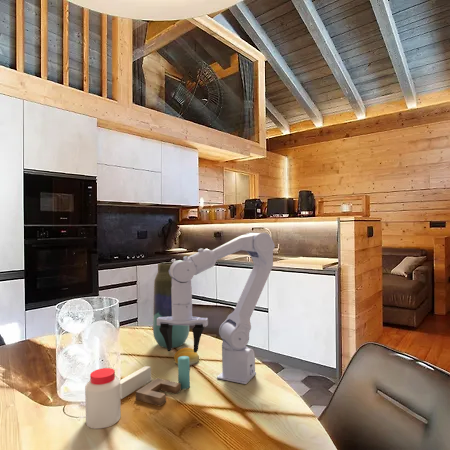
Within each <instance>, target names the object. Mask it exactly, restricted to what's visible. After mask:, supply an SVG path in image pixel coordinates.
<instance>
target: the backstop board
mask: <svg viewBox="0 0 450 450" xmlns="http://www.w3.org/2000/svg"><path fill="white" fill-rule="evenodd" d="M119 380H120V400H123V399H124V398H126V397H127V396H129V395H131V394H132V393H134V392H136V391H138V390H139V389H141V388H142V387H144V386H145V385H147V384H149V383H150V382H152V367H151V366H149V365H144V366H143V367H140V369H138V370H137V369H136V370H135V371H134V372H132V373H130V374H129V375H126V376H125V377H123V378H122V379H119Z"/></svg>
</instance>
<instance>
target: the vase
mask: <svg viewBox="0 0 450 450" xmlns="http://www.w3.org/2000/svg"><path fill="white" fill-rule="evenodd" d="M173 262H174V261H169V262H160V263H158V264H157V273H156V275H155V278H154V280H153V281H154V282H153V305H152V333H153V338H154V341H155V342H156V343H157V345H158V346H160V347H162V348H165V349H167V346H166V343H165V340H164V338H163V336H162V334H161V332H160V331H159V328H160V326H161V325H157V318H158V317H170V316H172V294H171V287H172V277H171V276H170V274H169V270H170V266H171V265H172V263H173ZM189 335H190V326H189V325H173V327H172V349H175V348H178V347H181V346H183V345H184V344H185V342H186V341H187V339H188V338H189Z"/></svg>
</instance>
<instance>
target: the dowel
mask: <svg viewBox="0 0 450 450" xmlns="http://www.w3.org/2000/svg"><path fill="white" fill-rule="evenodd" d="M190 369H191V368H190V365H189V357H188V356H181V357H179V358H178V365H177V371H178V372H177V375H178V376H177V378H178V380H177V381H178V382H177V383H180V386H181V390H187V389H189V388H190V387H191V386H190V385H191V382H190V381H191V380H190V379H191V378H190V376H191V375H190V372H191V370H190Z"/></svg>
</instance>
